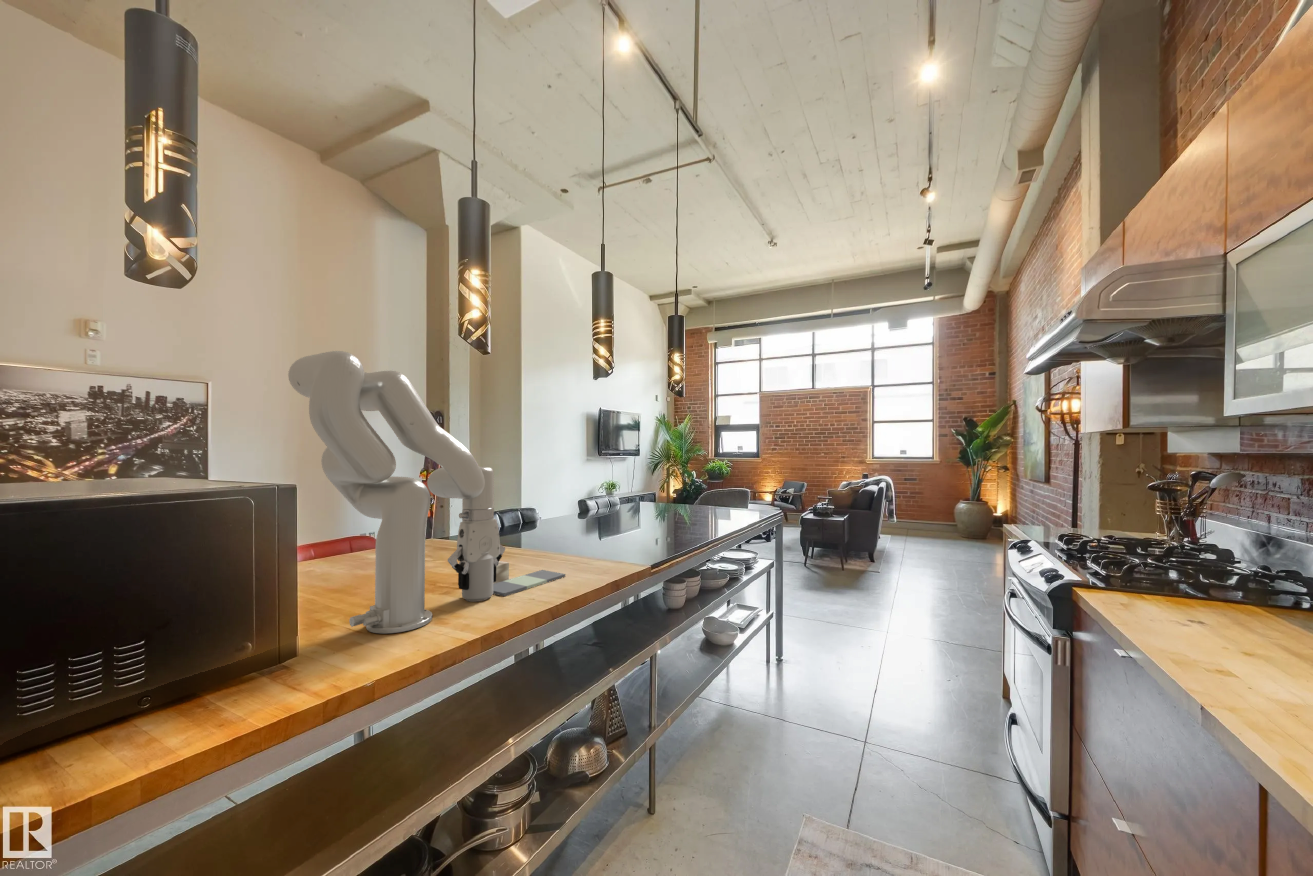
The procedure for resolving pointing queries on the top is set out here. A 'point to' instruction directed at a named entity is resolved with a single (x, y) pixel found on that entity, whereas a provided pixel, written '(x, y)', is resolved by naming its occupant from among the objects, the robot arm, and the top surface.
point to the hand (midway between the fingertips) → (477, 584)
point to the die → (502, 572)
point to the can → (480, 579)
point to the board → (524, 582)
